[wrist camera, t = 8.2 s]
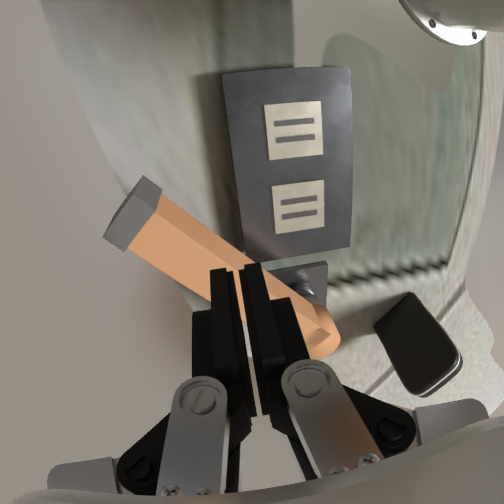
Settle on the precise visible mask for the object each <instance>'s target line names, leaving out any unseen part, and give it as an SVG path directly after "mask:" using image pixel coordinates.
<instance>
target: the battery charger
mask: <svg viewBox="0 0 504 504" xmlns="http://www.w3.org/2000/svg"><path fill="white" fill-rule="evenodd" d="M373 329H374V330H375V332H376V334H377V335H378V337H379V339H380V340H381V342H382V344H383V346H384V348H385V350H386V352H387V354H388V356H389V359H390V361H391V363H392V365H393V367H394V369H395V371H396V372H397V374H398V376H399V378H400V380H401V381H402V383H403V385H404V387H405V388H406V390H407V391H408V392H409V393H410V394H412V395H414V396H418V397H423V398H424V397H428V396H430V395H431V394H433V393H434V392H436V391H437V390H438V389H440V388H441V387H442V386H444V385H445V384H446V383H447V382H448V381H450V380H451V379H452V378H453V377H454V376H455V375H456V374H457V373H458V372H459V371H460V370H461V368H462V364H463V360H462V356H461V354H460V352H459V350H458V349H457V347H456V345H455V344H454V342H453V341H452V339H451V338H450V336H449V335H448V334H447V332H446V331H445V330H444V328H443V327H442V326H441V325H440V323H439V322H438V321H437V320H436V319H435V318H434V316H433V315H432V314H431V313H430V312H429V311H428V309H427V308H426V307H425V306H424V304H423V303H422V302H421V300H420V299H419V297H418V296H417V295H416V294H415V293H410V294H409V295H408V296H407V297H405V298H404V299H403V300H402V301H401V302H400V303H398V304H397V305H396V306H395V307H394V308H393V309H392V310H391V311H389V312H388V313H387V314H386V315H385V316H384V317H383V318H382V319H381V320H380V321H379V322H378V323H377V324H375V325H374V327H373Z"/></svg>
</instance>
